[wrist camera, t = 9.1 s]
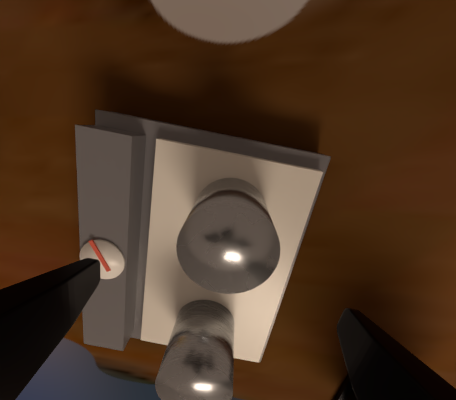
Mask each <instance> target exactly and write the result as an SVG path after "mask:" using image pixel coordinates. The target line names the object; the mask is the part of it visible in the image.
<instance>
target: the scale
mask: <svg viewBox="0 0 456 400" xmlns="http://www.w3.org/2000/svg"><path fill="white" fill-rule="evenodd" d="M75 136H76V161H77V186H78V210H79V235H80V260H82V259H85V258H92V259H97V260H99V261H100V282H99V285H98V286H97V288H96V290H95V291H94V293H93V294H92V296H91V297H90V299H89V300H88V302H87V304H86V305H85V307H84V308H83V334H84V344H89V345H94V346H100V347H105V348H110V349H115V350H121V351H123V350H124V348H125V346H126V344H127V342H128V340H129V339H130V337H132V338H138V339H141V340H143V341H149V342H154V343H159V344H164V345H168V342H169V339H170V336H171V333H172V330H173V327H174V324H175V321H176V318H177V315H178V313H179V311H180V309H181V308H182V307H183V306H184V305H186V304H187V303H189V302H192V301H195V300H211V301H215V302H218V303H220V304H222V305H223V306H225V307H226V308H227V309H228V310H229V311H230V312H231V314H232V316H233V318H234V322H235V326H234V358H238V359H243V360H248V361H253V362H261V359H262V356H263V353H264V350H265V347H266V345H267V342H268V339H269V336H270V333H271V330H272V327H273V324H274V321H275V318H276V315H277V313H278V310H279V307H280V304H281V301H282V298H283V295H284V292H285V289H286V286H287V283H288V280H289V278H290V275H291V272H292V269H293V266H294V263H295V260H296V257H297V254H298V251H299V248H300V245H301V243H302V240H303V237H304V234H305V231H306V228H307V225H308V222H309V219H310V216H311V213H312V211H313V208H314V205H315V202H316V199H317V196H318V193H319V190H320V187H321V184H322V181H323V178H324V176H325V173H326V170H327V167H328V164H329V161H330V158H331V157H330V156H327V155H323V154H320V153H315V152H310V151H305V150H300V149H296V148H291V147H286V146H281V145H276V144H271V143H266V142H261V141H256V140H251V139H246V138H241V137H236V136H231V135H226V134H221V133H216V132H211V131H206V130H201V129H196V128H191V127H186V126H181V125H176V124H171V123H166V122H161V121H156V120H151V119H146V118H141V117H136V116H131V115H126V114H121V113H116V112H110V111H103V110H95V125H75ZM223 178H238V179H242V180H244V181H247V182H249V183H250V184H252V185H253V186H254V187H256V188H257V189H258V191H259V192H260V193H261V195H262V196H263V199H264V201H265V204H266V206H267V209H268V211H269V214H270V216H271V219H272V222H273V224H274V227H275V229H276V232H277V235H278V237H279V241H280V258H279V262H278V264H277V267H276V269H275V270H274V272H273V273H272V275H271V276H270V277H269V278H268V279H267V280H266V281H265V282H264V283H262V284H261V285H259V286H258V287H256V288H254V289H252V290H249V291H246V292H242V293H235V294H224V293H217V292H213V291H210V290H207V289H205V288H203V287H201V286H199V285H198V284H196V283H195V282H194V281H192V280H191V279H190V278H189V277H188V276H187V275H186V273H185V272H184V271H183V269H182V267H181V265H180V263H179V261H178V257H177V251H176V244H177V238H178V235H179V232H180V230H181V228H182V226H183V224H184V223H185V221H186V219H187V217H188V215H189V213H190V211H191V210H192V208H193V206H194V204H195V202H196V200H197V198H198V196H199V195H200V193H201V192H202V190H203V189H204V188H205V187H206V186H208V185H209V184H210V183H212V182H214V181H216V180H219V179H223Z"/></svg>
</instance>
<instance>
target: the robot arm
mask: <svg viewBox="0 0 456 400" xmlns="http://www.w3.org/2000/svg"><path fill="white" fill-rule="evenodd" d="M99 282H100V261H99V260H97V259H92V258H85V259H82V260H80V261H77V262H74V263H71V264H69V265H66V266H63V267H61V268H58V269H55V270H52V271H50V272H47V273H44V274H41V275H39V276H36V277H33V278H31V279H28V280H25V281H22V282H20V283H17V284H14V285H11V286H9V287H6V288H3V289H0V400H15V399H16V398H17V397H18V395H19V394H20V393H21V391H22V390H23V389H24V388H25V386H26V385H27V384H28V383H29V381H30V380H31V379H32V377H33V376H34V374H36V372H37V371H38V369H39V368H40V367H41V366H42V364H43V363H44V362H45V361H46V359H47V358H48V357H49V355H50V354H51V353H52V352H53V350H54V349H55V348H56V346H57V345H58V344H59V342H60V341H61V340H62V339H63V337H64V336H65V335H66V333H67V332H68V331H69V329H70V328H71V327H72V325H73V324H74V322H75V321H76V319H77V318H78V316H79V315H80V313H81V311H82V310H83V308H84V307H85V305H86V304H87V302H88V300H89V299H90V297H91V296H92V294H93V293H94V291H95V290H96V288H97V286H98V285H99ZM337 333H338V337H339V341H340V344H341V348H342V352H343V356H344V359H345V363H346V367H347V371H348V374H349V375H348V376H347V378H346V380H345V382H344V384H343V385H342V387H341V389H340V391H339V393H338V395H337V396H336V398H335V400H456V389H455V388H454V387H453V386H452V385H450V384H449V383H448V382H447V381H445V380H444V379H443V378H442V377H440V376H439V375H438V374H437V373H435V372H434V371H433V370H432V369H430V368H429V367H428V366H427V365H426V364H424V363H423V362H422V361H421V360H419V359H418V358H417V357H416V356H414V355H413V354H412V353H411V352H409V351H408V350H407V349H406V348H405V347H403V346H402V345H401V344H400V343H398V342H397V341H396V340H395V339H393V338H392V337H391V336H390V335H388V334H387V333H386V332H385V331H384V330H382V329H381V328H380V327H379V326H377V325H376V324H375V323H374V322H372V321H371V320H370V319H369V318H367V317H366V316H365V315H364V314H363V313H361V312H360V311H358V310H356V309H351V308H346V309H345V310H344V311H343V313H342V315H341V317H340V320H339V322H338V324H337Z"/></svg>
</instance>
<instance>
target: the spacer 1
mask: <svg viewBox="0 0 456 400" xmlns="http://www.w3.org/2000/svg"><path fill="white" fill-rule="evenodd" d="M176 251H177V257H178V261H179V263H180V265H181V267H182V269H183V271H184V272H185V273H186V275H187V276H188V277H189V278H190V279H191V280H192V281H194V282H195V283H196V284H198V285H199V286H201V287H203V288H205V289H207V290H210V291H213V292H217V293H224V294H235V293H242V292H246V291H249V290H252V289H254V288H256V287H258V286H259V285H261V284H262V283H264V282H265V281H266V280H267V279H268V278H269V277H270V276H271V275H272V273H273V272H274V270H275V269H276V267H277V264H278V262H279V258H280V241H279V237H278V235H277V232H276V229H275V227H274V224H273V222H272V219H271V216H270V214H269V211H268V209H267V206H266V204H265V201H264V199H263V196H262V195H261V193H260V192H259V191H258V189H257V188H256V187H254V186H253V185H252V184H250V183H249V182H247V181H244V180H242V179H238V178H223V179H219V180H216V181H214V182H212V183H210V184H209V185H208V186H206V187H205V188H204V189H203V190H202V192H201V193H200V195H199V196H198V198H197V200H196V202H195V204H194V206H193V208H192V210H191V211H190V213H189V215H188V217H187V219H186V221H185V223H184V224H183V226H182V228H181V230H180V232H179V235H178V238H177V244H176Z"/></svg>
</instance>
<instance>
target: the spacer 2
mask: <svg viewBox="0 0 456 400" xmlns="http://www.w3.org/2000/svg"><path fill="white" fill-rule="evenodd" d="M234 326H235V322H234V318H233V316H232V314H231V312H230V311H229V310H228V309H227V308H226V307H225V306H223V305H222V304H220V303H218V302H215V301H211V300H195V301H192V302H189V303H187V304H186V305H184V306H183V307H182V308H181V309H180V311H179V313H178V315H177V318H176V321H175V324H174V327H173V330H172V333H171V336H170V339H169V342H168V345H167V348H166V351H165V354H164V357H163V360H162V363H161V366H160V369H159V372H158V375H157V378H156V382H155V388H156V392H157V394H158V396H159V397H160V398H161V400H231V399H232V395H233V363H234Z"/></svg>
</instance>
